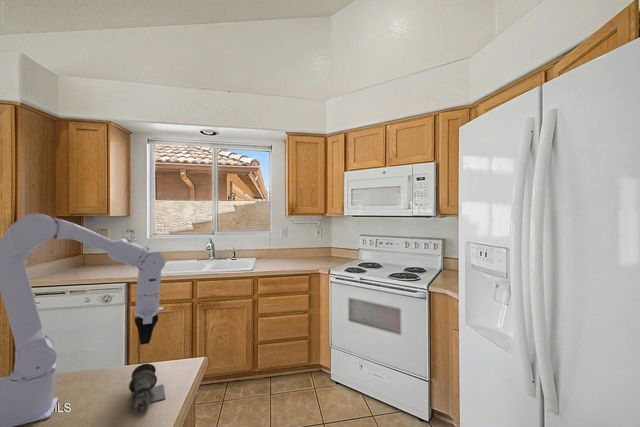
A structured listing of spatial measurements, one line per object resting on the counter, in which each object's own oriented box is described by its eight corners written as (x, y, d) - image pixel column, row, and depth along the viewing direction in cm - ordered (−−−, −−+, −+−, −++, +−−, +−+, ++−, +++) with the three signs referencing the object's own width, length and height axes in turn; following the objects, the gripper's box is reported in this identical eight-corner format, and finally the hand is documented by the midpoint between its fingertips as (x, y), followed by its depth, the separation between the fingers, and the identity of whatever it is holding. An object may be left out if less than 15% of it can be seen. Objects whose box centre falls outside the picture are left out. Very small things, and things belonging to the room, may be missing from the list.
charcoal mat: (130, 408, 63) (130, 407, 63) (131, 393, 69) (131, 392, 69) (165, 399, 67) (165, 397, 67) (163, 385, 73) (163, 384, 73)
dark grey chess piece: (162, 367, 73) (163, 403, 63) (145, 386, 72) (143, 426, 62) (142, 359, 70) (140, 395, 60) (124, 378, 69) (118, 419, 59)
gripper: (166, 297, 74) (163, 349, 73) (162, 288, 86) (159, 332, 85) (135, 300, 70) (131, 355, 69) (135, 290, 82) (132, 337, 81)
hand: (144, 343), depth 77 cm, fingers closed
